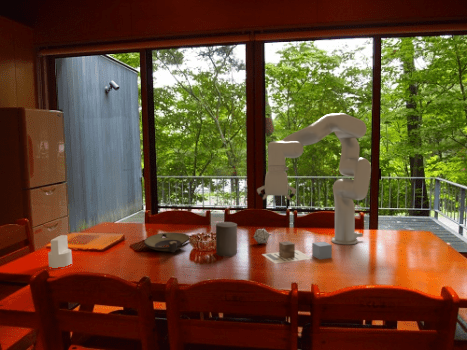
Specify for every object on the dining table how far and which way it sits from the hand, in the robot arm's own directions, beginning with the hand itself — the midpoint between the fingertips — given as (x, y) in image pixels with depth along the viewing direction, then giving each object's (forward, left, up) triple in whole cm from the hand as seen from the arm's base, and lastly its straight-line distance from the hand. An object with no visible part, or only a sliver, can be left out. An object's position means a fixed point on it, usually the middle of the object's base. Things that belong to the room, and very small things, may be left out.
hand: (276, 208), depth 170 cm
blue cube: (-17, +10, -22) cm, 29 cm away
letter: (-3, +4, -21) cm, 22 cm away
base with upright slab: (+91, -21, -22) cm, 96 cm away
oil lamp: (+45, -27, -22) cm, 57 cm away
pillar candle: (+20, -11, -22) cm, 31 cm away
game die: (-1, -20, -22) cm, 29 cm away
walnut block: (-3, +4, -21) cm, 22 cm away
